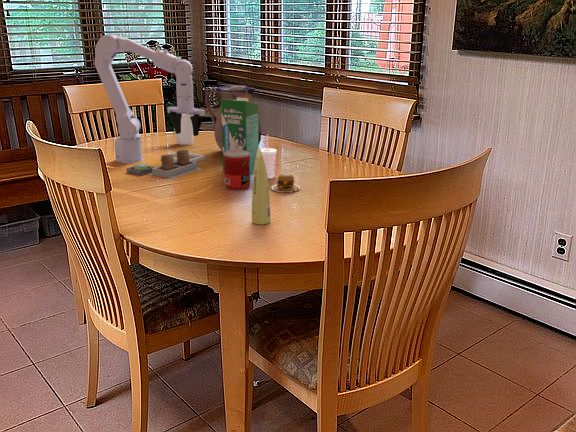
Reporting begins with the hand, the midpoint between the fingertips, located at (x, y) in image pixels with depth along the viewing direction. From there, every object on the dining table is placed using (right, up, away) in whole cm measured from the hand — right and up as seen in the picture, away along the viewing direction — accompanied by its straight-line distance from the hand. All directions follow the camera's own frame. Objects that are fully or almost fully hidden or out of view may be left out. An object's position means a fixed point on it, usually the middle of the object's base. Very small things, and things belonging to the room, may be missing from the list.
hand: (187, 134), depth 206 cm
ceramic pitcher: (+15, -5, +15) cm, 22 cm away
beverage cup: (+29, -16, -14) cm, 36 cm away
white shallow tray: (-2, -9, +3) cm, 10 cm away
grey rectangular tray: (-1, -15, -13) cm, 20 cm away
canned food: (+20, -20, -26) cm, 39 cm away
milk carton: (+20, -14, -9) cm, 26 cm away
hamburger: (+35, -21, -27) cm, 49 cm away
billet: (+1, -13, -10) cm, 16 cm away
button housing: (-13, -15, -13) cm, 24 cm away
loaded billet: (-3, -15, -16) cm, 22 cm away
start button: (-13, -15, -14) cm, 24 cm away
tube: (+29, -31, -55) cm, 69 cm away
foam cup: (-6, 0, +29) cm, 30 cm away
